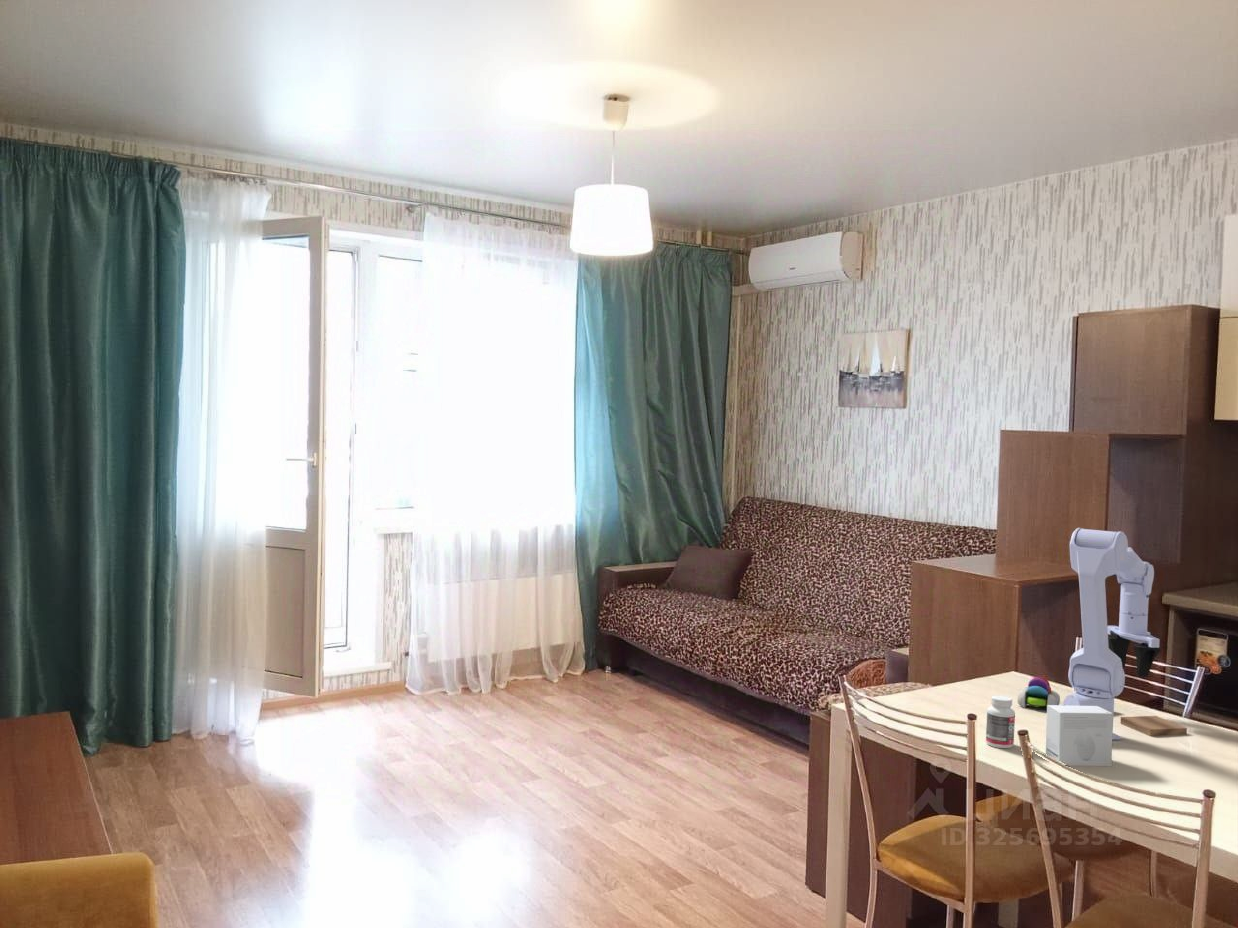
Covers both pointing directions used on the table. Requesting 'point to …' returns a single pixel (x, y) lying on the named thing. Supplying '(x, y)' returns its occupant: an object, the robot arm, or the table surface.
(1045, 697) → the multicolored rounded toy
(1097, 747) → the skincare box
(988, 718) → the pill bottle
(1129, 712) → the table surface
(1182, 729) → the walnut block
